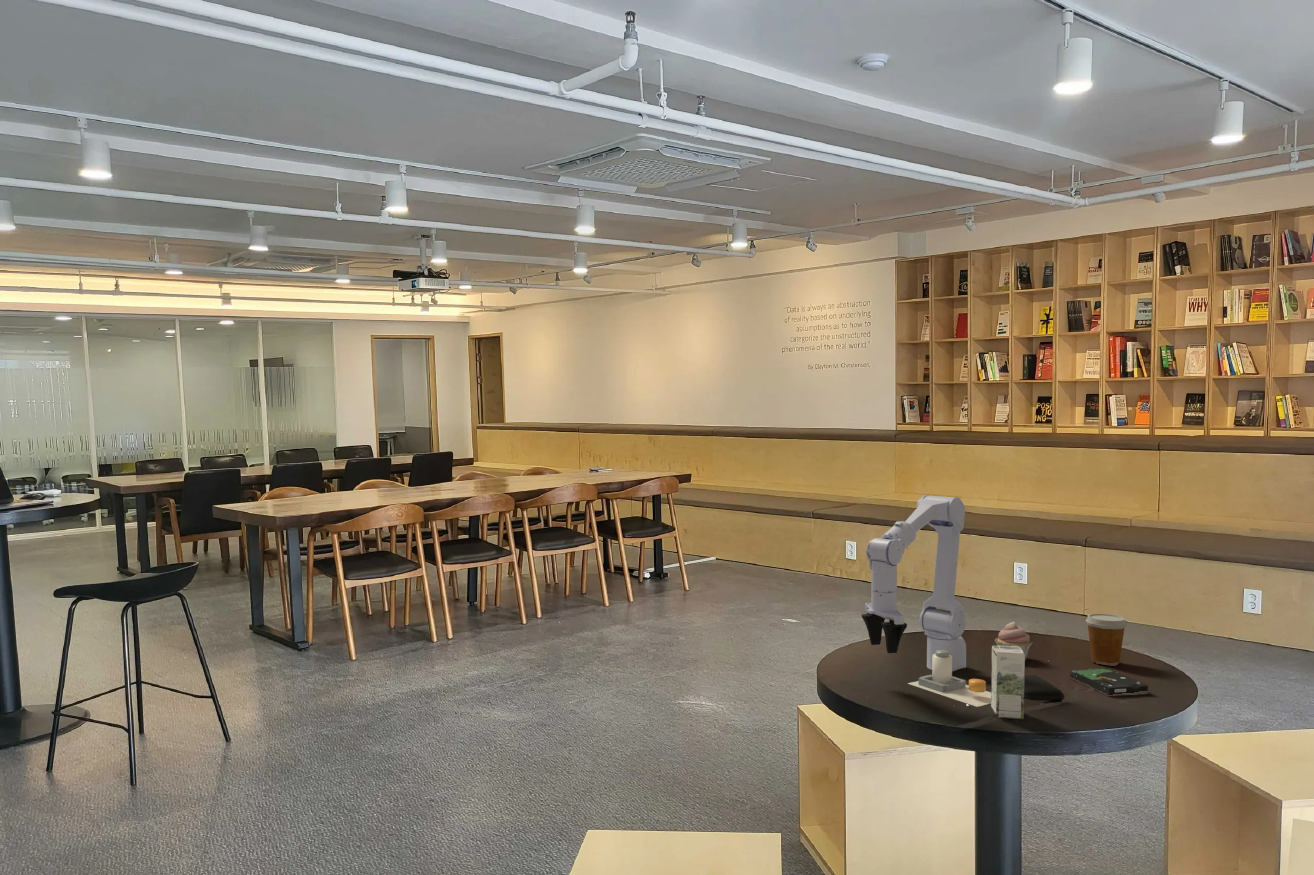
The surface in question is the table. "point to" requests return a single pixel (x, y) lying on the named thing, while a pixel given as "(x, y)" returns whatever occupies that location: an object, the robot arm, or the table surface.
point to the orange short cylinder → (977, 685)
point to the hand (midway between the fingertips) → (883, 648)
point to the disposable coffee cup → (1106, 636)
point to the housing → (954, 690)
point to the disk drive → (1108, 681)
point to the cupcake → (1014, 637)
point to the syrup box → (1007, 682)
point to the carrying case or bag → (1041, 690)
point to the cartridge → (942, 667)
